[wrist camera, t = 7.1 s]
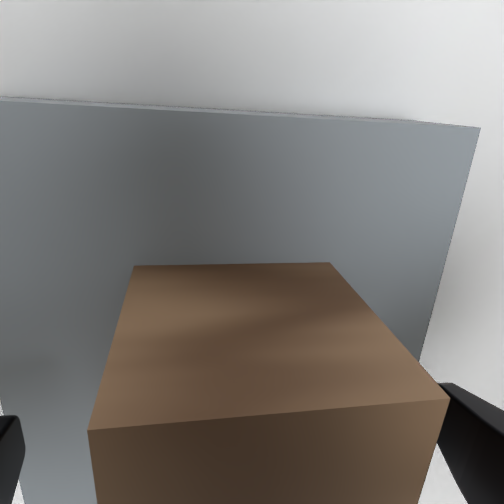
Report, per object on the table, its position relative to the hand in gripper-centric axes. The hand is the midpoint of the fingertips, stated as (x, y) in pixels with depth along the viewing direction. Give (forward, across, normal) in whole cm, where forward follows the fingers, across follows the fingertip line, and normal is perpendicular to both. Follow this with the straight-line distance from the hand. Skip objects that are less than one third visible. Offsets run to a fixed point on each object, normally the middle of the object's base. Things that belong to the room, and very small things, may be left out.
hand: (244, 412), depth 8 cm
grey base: (+6, 0, 0) cm, 6 cm away
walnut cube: (+2, 0, 0) cm, 3 cm away
